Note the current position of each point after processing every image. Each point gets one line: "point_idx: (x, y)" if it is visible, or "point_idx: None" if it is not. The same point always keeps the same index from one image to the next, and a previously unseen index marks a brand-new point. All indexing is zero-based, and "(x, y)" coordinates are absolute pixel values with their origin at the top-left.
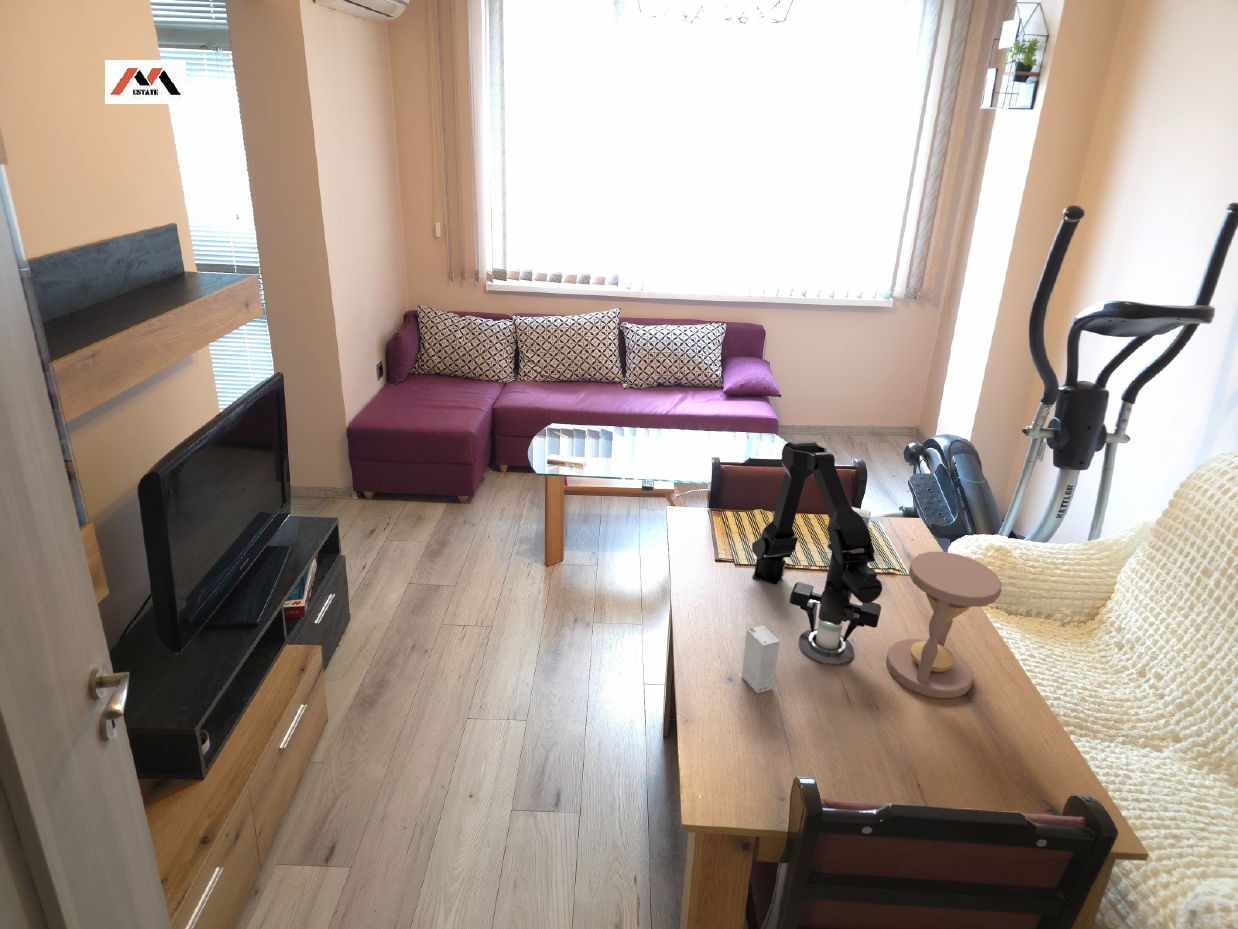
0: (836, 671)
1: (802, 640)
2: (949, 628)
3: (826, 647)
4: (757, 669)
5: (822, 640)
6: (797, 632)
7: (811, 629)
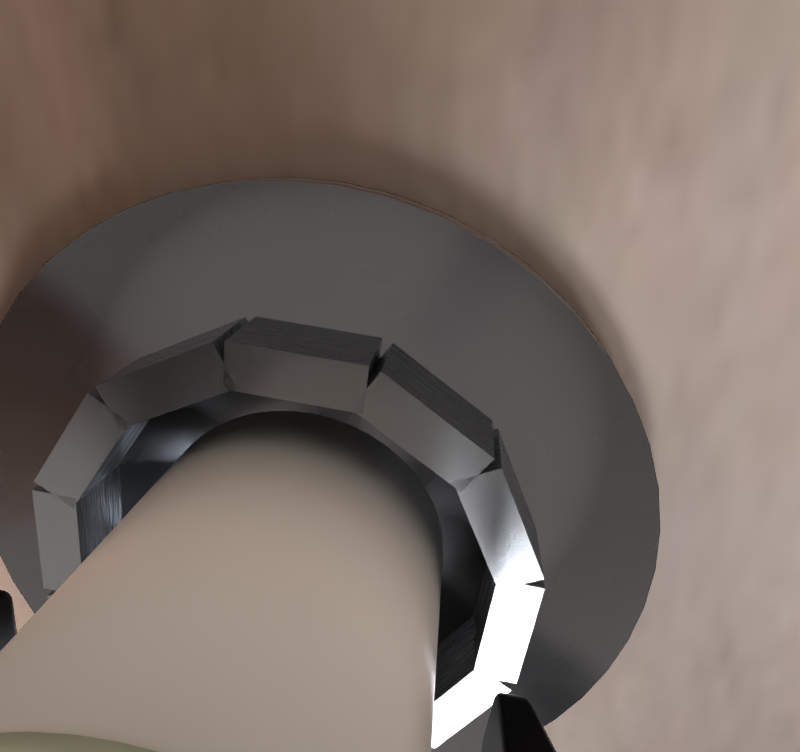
0: (105, 60)
1: (608, 563)
2: None
3: (269, 451)
4: None
5: (325, 534)
6: (643, 695)
7: (543, 747)
